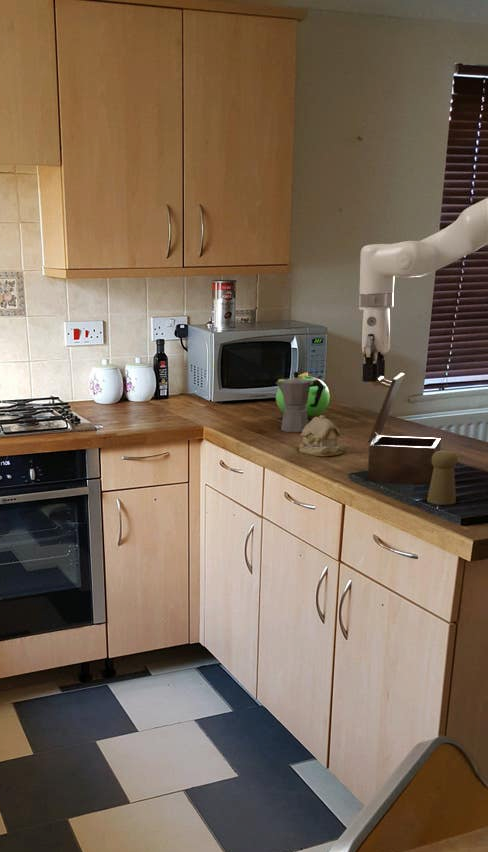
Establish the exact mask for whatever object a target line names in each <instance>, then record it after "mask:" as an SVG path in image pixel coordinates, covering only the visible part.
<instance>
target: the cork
mask: <svg viewBox="0 0 488 852" xmlns="http://www.w3.org/2000/svg"><path fill="white" fill-rule="evenodd" d="M458 459H459V458H458V455H457V453H455V452H454V451H451V450H440V451H437V452H435V453H434V454H433V456H432V465H433V466H434V469H433V474H432V479H431V483H430V485H429V488H428V493H427V498H426V501H427V503H429V504H433V505H441V506H443V505H445V506H446V505H453V504H456V503H457V497H456V496H457V495H456V480H455V468H456V466H457V464H458V461H459V460H458Z"/></svg>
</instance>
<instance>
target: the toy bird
mask: <svg viewBox="0 0 488 852" xmlns="http://www.w3.org/2000/svg"><path fill="white" fill-rule="evenodd" d="M291 378H294V376H293V377H290V378H289V379H291ZM298 378H301V379H305V380H319V381H320V382H321V383H322V384H323V386H324V389H323V391H322V394H321V397H320V400H319V403H318V405H317V407H311V406H310V404H314V402H315V397H316V394H317V390H318V387H317V386H313V387H310V389H309V395H308V401H307V403H306V409H307V416H308V419H309V418H314V417H317V416H318V415H321V414H322V413H323V412H324V411H325V410H326V409H327V407H328V406H329V403H330V397H331V396H330V389H329V387H328V386H327V385H326V383H325V382H324V381H322V380H321V379H319V378H318V377H314V376H309V372H303V373H301V374H298ZM283 380H284V379H283V378H282V379H278V380H277V382H278V381H283ZM275 402H276V405H277V407H278V409H279V410H280V411H281V412H282V414H284V409H285V404H284V398H283V394H282V392H281V390H280V388H279V387H277V389H276V393H275Z"/></svg>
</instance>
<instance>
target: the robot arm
mask: <svg viewBox="0 0 488 852" xmlns="http://www.w3.org/2000/svg"><path fill="white" fill-rule="evenodd" d="M487 245H488V197H486V198H483V199H482V200H480V201H478V202H476V203H474V204H472V205H470V206H468V207H467V208H465V209H464V210H463V211H462V212H461V213H460V214H459V216H458V217H457V219H456V220H454V222H452V223H451V224H449V225H448V226H446V227H445V228H442V229H441V230H439V231H438V232H435V233H434V234H431V235H429V236H427V237H426V238H423V239H421V240H405V241H400V242H396V243H374V244H373V243H372V244H366V245H364V246H363V247H362V248H361V250H360V255H359V258H360V260H359V261H360V262H359V292H358V293H359V295H358V297H359V298H358V310H359V311H362V310H363V312H362V313H363V315H362V332H361V333H362V335H361V351H362V354H363V355H364V356H363V363H362V382H364V383H372V382H376V381H377V376H379V375H382V376H383V377H384V378H385V375H386V374H385V373H386V354H387V353H388V352H389V351H390V348H391V316H390V315H391V314H390V309H394V290H395V278H405V279H406V278H407V279H408V278H421V277H424V276H427V275H430V274H431V273H434V272H436V271H438V270H440V269H442V268H444V267H446V266H448V265H451V264H453V263H454V262H457V261H458V260H460V259H462V258H464V257H466V256H468V255H470V254H472V253H475V252H476V251H478V250H479V249H481V248H483V247H485V246H487Z"/></svg>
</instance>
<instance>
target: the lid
mask: <svg viewBox="0 0 488 852" xmlns="http://www.w3.org/2000/svg"><path fill="white" fill-rule="evenodd" d="M404 376H405V373H404V372H400V373H399V374H397V375H396V376H394V377H393V378H392V380H388V379H385V376H384V377H383V376H382V375H379V376H377V381H376V382H371V385H372V386H374V387H378V386H382V387H384V388H387V389H388V390H387V391H386V395H385V398H384V400H383V402H382V405H381V407H380V409H379V413H378V415H377V418H376V420H375V423H374V424H373V428H372V430H371V433H370V436H369V438H368V441H367V444H369V445H370V444H371V443H372V442H373V441H374V440H375V439H376V438H377V437H378V436H379V435H380V434H382V432H383V429H384V427H385V424H386V422H387V419H388V416H389V414H390V411H391V409H392V407H393V404H394V402H395V399H396V397H397V394H398V391H399V389H400V386H401V384H402V381H403V379H404Z"/></svg>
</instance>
